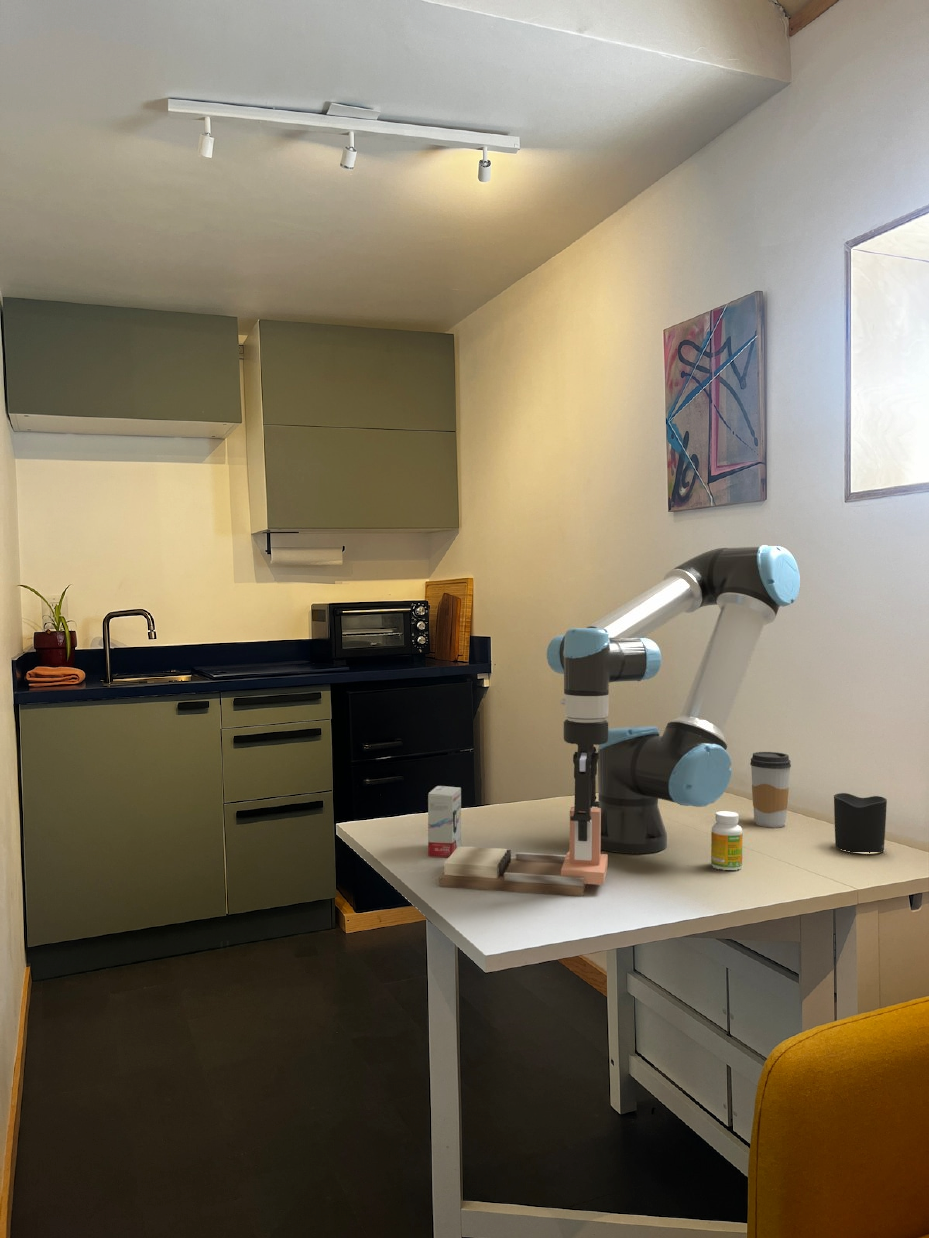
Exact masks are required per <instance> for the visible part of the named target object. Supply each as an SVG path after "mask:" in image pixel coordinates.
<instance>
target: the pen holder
mask: <svg viewBox="0 0 929 1238" xmlns="http://www.w3.org/2000/svg"><path fill="white" fill-rule="evenodd" d="M887 800H888V799H887V798H885V797H883V796H879V795H873V796H868V797H859V796H856V795H854V794H850V793H847V792H841V793H836V794H834V795H833V810H834V812H833V813H834V818H833V819H834V842H835V847H836V848H837V847H838V848H839V849H838V848H837V849H838V850H840V849H842V850H846V851H850V852H869V853H870V852H881V851H882V852H883V851H884V850H885V838H886V823H887V808H888V807H887V803H888V802H887ZM842 850H841V851H842Z"/></svg>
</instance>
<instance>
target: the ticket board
mask: <svg viewBox="0 0 929 1238" xmlns="http://www.w3.org/2000/svg"><path fill="white" fill-rule="evenodd" d="M511 855H512V850H511V849H508V848H499V847H498V848H496V847H479V846H463V845H461V846H458V847H457V848H456V850H455V851H454V852H453V853H452V854H451V856H450V857H447V859H446V860H445V862H444V864H443V865H444V866H443V867H444V868H443V869H444V871H443V872H442V873H441V875H440V876H439V880H438V881H439V884H438V885H439V887H446V888H448V887H450V888H460V889H461V888H463V889H475V890H476V889H477V890H490V891H492V890H493V891H502V892H503V891H505V892H520V893H533V894H534V893H535V894H548V895H560V896H562V895H563V896H575V897H576V896H578V897H583V896H584V892H585V888H586V886H587V884H583V877H569V876H561V869H562V866H563V863H564V861H565V858H566V855H567V854H549V853H548V854H547V853H536V852H535V853H533V852H517V851H516V853H515V857H512V856H511Z"/></svg>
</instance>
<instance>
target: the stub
mask: <svg viewBox="0 0 929 1238" xmlns="http://www.w3.org/2000/svg"><path fill="white" fill-rule="evenodd" d="M579 812H581V811H579ZM584 813H586V812H584ZM573 815H574V806H570V809H569V851H567V852H566V854H565V855H566V858H565V861H564V863H563V866H562V869H561V876H569V877H583V884H586V885H600V886H601V885H602V886H604V885H605V880H606V875H607V871H608V864H609V863H608V862H609V861H608V859H609V858H608V854H606V853H605V854H604V853H601V850H602V849H601V808H597V807H592V808H591V814H590V816H591V820H592V829H591V861H590V860H575V821H571V819H570V817H571V816H573Z"/></svg>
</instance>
